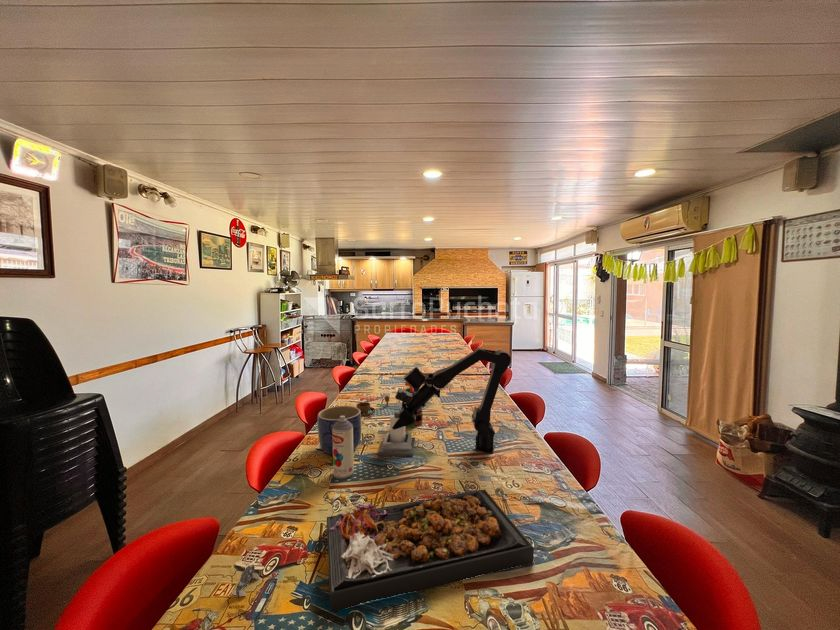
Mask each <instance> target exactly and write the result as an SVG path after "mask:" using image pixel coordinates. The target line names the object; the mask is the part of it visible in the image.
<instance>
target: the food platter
mask: <svg viewBox="0 0 840 630" xmlns="http://www.w3.org/2000/svg"><path fill="white" fill-rule="evenodd" d="M351 495H352V496H353V498H354V500H355V502H356V504H355V505H354V506H353V508H352V507H349V506H347V507H346V508H347V509H349V511H345V513H338V514H337V515H333V516H327V517H326V532H327V533H326V535H327V538H326V539H327V540H326V541H327V559H328V560H327V561H328V562H327V564H328V581H329V582H328V587H329V611H330V612H333V611H337V612H339V611H338V610H341V611H343V610H342V609H345V608H348V607H351V606H355V605H358V604H360V603H363V602H367V601H371V600H376V599H381V598H387V597H391V596H394V595H398V594H403V593H408V592H414V591H418V592H421V591H420V590H422V591H426V590H428V589H432V588H433V589H434V588H436V587H441V586H445V585H449V584H453V583H457V581H458V582H461V581H460V580H462V581H464V580H463V579H466V578H470V579H472V578H471V577H474V578H476V577H475V576H478V575H482V574H486V575H489V574H488V573H490V574H492V573H491V572H494V573H497V572H496V571H498V572H500V571H499V570H502V571H504V570H503V569H506V570H508V569H507V568H510V569H512V568H511V567H514V568H517V567H516V566H518V567H521V566H520V565H522V566H525V565H524V564H526V565H529V564H528V563H530V564H533V563H534V546H533V545H532V544H531V542H530V541H529V540H528V539H527V537H525V535H524V534H523V533H522V532H521V531H520V529H519V528H518V527H517V526H516V525H515V524H514V522H513V521H512V520H511V518H510V517H509V516H508V515H507V514H506V513H505V512H504V511H503V509H502V508H501V507H500V505H499V504H498V503H497V502H496V501H495V500H494V499H493V497H492V496H491V494H489V493H488V491H487V490H486V489H480V490H473V491H468V492H462V493H457V494H451V495H444V494H438V493H437V494H434V495H433V497H432V498H429V499H422V500H417V501H411V502H406V503H404V502H403V503H400V504H395V505H394V504H393V505H389V506H383V507H374V506H373V503H370V504H368V505H364V504H365V503H364V504H363V503H358V501H357V499H356V498H355V496H354V494H353V493H351ZM354 507H355V508H354ZM350 510H352V512H351V511H350ZM532 562H533V563H532ZM482 576H483V575H482ZM478 577H479V576H478ZM466 580H467V579H466ZM425 589H426V590H425ZM414 593H415V592H414ZM345 610H346V609H345ZM333 613H334V612H333Z"/></svg>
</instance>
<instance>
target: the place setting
mask: <svg viewBox="0 0 840 630" xmlns="http://www.w3.org/2000/svg"><path fill="white" fill-rule="evenodd" d="M384 402H386V404H385V406H388V407H389V402H390V396H389V395H386V396H384ZM355 407H356V408H358V409H360V411H361V413H365V414H361V417H364V418H363V419H366V418H367V419H370V418H372V415H374V414H375V413H376V409H375V408H374V406H373V407H372V406H371V403H370V402H367V401H365V402H364V401H362V402H358V403H357V404H356V406H355ZM370 409H372V410H371V411H372V412H369V411H370ZM373 410H374V411H373ZM368 412H369V413H368ZM373 413H374V414H373ZM371 414H372V415H371ZM368 415H369V416H368ZM365 417H366V418H365Z"/></svg>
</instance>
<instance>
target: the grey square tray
mask: <svg viewBox="0 0 840 630" xmlns="http://www.w3.org/2000/svg"><path fill="white" fill-rule="evenodd" d="M412 435H413V434H412V432H405V443H404V442H390V432H385V435H384V437H382V441H381V445H380V447H379V451H378V456H386V457H387V456H392V457H393V456H400V457H401V456H403V457H406V456H408V457H409V456H410V457H411V456H412V457H413V456H414V454H415V443H416V437H412Z"/></svg>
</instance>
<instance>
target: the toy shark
mask: <svg viewBox="0 0 840 630" xmlns="http://www.w3.org/2000/svg"><path fill="white" fill-rule="evenodd" d="M252 578H253V579H254V578H256V579H255V580H260V575H259V573H257V572H256V570H255V565H254V564H252V565H250V564H249V565H247V566H246V567H245V569H244V570H243V572H242V573H241V574H240V577H239V581H238V582H237V584H236V587H235V589H233V590H232V591H231V595H232V594H233V595H236V596H235V598H238V596H239V597H241V596H246V597H247V593H246V591H245V589H246V588H247V587H248V585H249V584H250V583H251V581H252V580H253V579H252ZM249 582H250V583H249ZM248 583H249V584H248ZM247 584H248V585H247ZM245 587H246V588H245ZM244 588H245V589H244ZM243 589H244V590H243ZM242 590H243V591H242ZM233 595H232V596H233Z"/></svg>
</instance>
